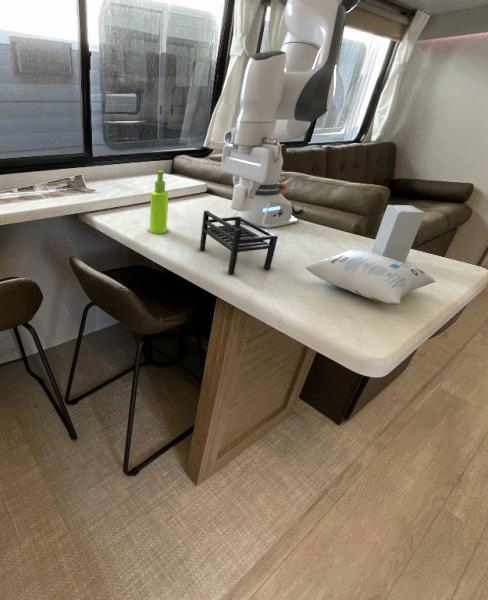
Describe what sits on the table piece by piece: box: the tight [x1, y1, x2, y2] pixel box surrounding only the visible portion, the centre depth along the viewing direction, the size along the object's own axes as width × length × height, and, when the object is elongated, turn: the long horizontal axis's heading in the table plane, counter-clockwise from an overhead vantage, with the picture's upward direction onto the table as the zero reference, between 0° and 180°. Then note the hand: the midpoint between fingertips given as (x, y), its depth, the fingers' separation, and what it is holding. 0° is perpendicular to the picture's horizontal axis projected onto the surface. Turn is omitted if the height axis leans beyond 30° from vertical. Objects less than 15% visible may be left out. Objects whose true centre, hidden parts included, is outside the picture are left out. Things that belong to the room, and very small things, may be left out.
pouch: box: [304, 249, 437, 305], centre depth 75 cm, size 8×19×20 cm
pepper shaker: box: [230, 177, 253, 212], centre depth 83 cm, size 4×4×10 cm
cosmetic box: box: [370, 204, 426, 264], centre depth 87 cm, size 8×6×15 cm
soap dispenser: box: [149, 169, 169, 234], centre depth 110 cm, size 6×7×20 cm
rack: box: [199, 210, 279, 276], centre depth 90 cm, size 12×18×12 cm, turn 15°
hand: (243, 195), depth 84 cm, fingers closed on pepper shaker, 4 cm apart
